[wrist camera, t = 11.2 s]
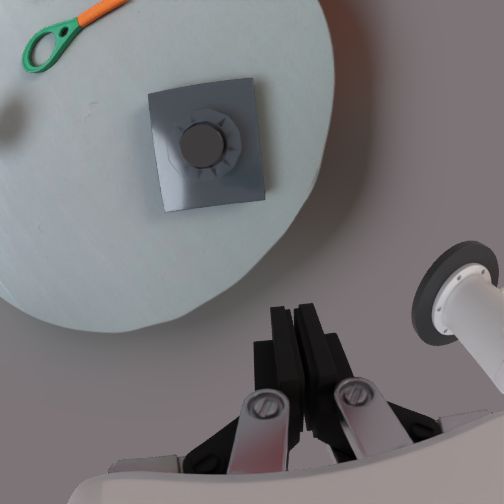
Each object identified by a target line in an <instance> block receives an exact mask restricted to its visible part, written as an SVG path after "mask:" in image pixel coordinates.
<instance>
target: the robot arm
mask: <svg viewBox="0 0 504 504" xmlns="http://www.w3.org/2000/svg"><path fill="white" fill-rule="evenodd" d="M270 312H271V325H272V339H273V340H268V341H256V342H254V376H255V391H254V392H252V393H251V394H249V395H248V396H247V397H246V398H245V399H244V401H243V404H242V408H241V412H240V416H239V417H237V418H236V419H235V420H233V421H232V422H231V423H229V424H228V425H227V426H226V427H224V428H223V429H221V430H220V431H219V432H217V433H216V434H215V435H213V436H212V437H211V438H209V439H208V440H206V441H205V442H204V443H202V444H201V445H199V446H198V447H196V448H195V449H194V450H192V451H191V452H190V453H188V454H187V455H186V456H182V457H177V455H169V456H161V457H149V458H137V459H123V460H118V461H117V462H115V463H113V464H112V466H111V467H110V468H109V471H108V474H105V475H100V476H96V477H93V478H90V479H87V480H85V481H84V482H82V483H81V484H80V485H79V486H78V487H77V488H76V489H75V491H74V492H73V494H72V495H71V497H70V499H69V501H68V503H67V504H504V411H501V412H497V413H494V414H493V413H492V412H491V411H488V410H477V411H472V412H467V413H462V414H456V415H450V416H443V417H439V419H438V420H434V419H432V418H430V417H428V416H425V415H422V414H419V413H417V412H414V411H411V410H408V409H406V408H403V407H401V406H398V405H396V404H393V403H390V402H388V401H386V400H385V399H384V397H383V395H382V394H381V392H380V391H379V390H378V388H377V387H376V385H375V384H374V383H373V382H371V381H370V380H368V379H365V378H362V377H354V376H353V373H352V371H351V368H350V365H349V363H348V360H347V358H346V355H345V353H344V350H343V348H342V345H341V343H340V340H339V338H338V336H337V334H336V333H329V334H324V332H323V330H322V327H321V324H320V321H319V318H318V316H317V313H316V310H315V307H314V305H313V303H309V304H300V305H299V308H297V309H294V325H293V321H292V316H291V312H290V309H287V310H285V308H284V306H280V307H271V308H270ZM432 322H433V325H434V326H435V328H436V329H437V330H438V331H439V332H440V333H441V334H443V335H453V334H454V335H455V336H456V337H457V338H458V339H459V341H460V342H461V343H462V344H463V345H464V346H465V348H466V349H467V350H468V351H469V352H470V354H471V355H472V356H473V357H474V358H475V360H476V361H477V362H478V363H479V365H480V366H481V367H482V368H483V370H484V371H485V372H486V373H487V375H488V376H489V377H490V379H491V380H492V381H493V383H494V384H495V385H496V387H497V388H498V389H499V390H500V391H501V393H502V394H504V287H502V288H499V289H498V288H496V287H495V286H494V285H493V284H491V276H490V274H489V271H488V270H487V269H486V268H485V267H484V266H483V265H481V264H479V263H468V264H466V265H463V266H462V267H460V268H459V269H457V270H456V271H455V272H453V273H452V274H451V275H450V276H449V277H448V279H447V280H446V281H445V282H444V284H443V285H442V287H441V288H440V290H439V292H438V294H437V296H436V298H435V301H434V304H433V308H432ZM304 417H305V423H306V428H307V431H311V430H312V432H313V437H314V438H318V439H319V440H321V441H323V442H324V443H326V448H327V451H328V453H329V456H330V458H331V461H332V463H333V465H328V466H322V467H316V468H309V469H302V470H293V471H289V459H290V450H291V449H292V448H293V447H294V446H295V445H296V444H297V443H298V442H299V440H300V432H303V420H304Z"/></svg>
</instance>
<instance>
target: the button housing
mask: <svg viewBox="0 0 504 504" xmlns="http://www.w3.org/2000/svg"><path fill="white" fill-rule="evenodd" d="M148 101H149V111H150V119H151V128H152V135H153V143H154V150H155V157H156V164H157V170H158V177H159V183H160V189H161V195H162V201H163V206H164V212H172V211H179V210H187V209H194V208H202V207H209V206H217V205H226V204H234V203H243V202H252V201H261V200H265V189H264V179H263V169H262V159H261V149H260V139H259V129H258V120H257V110H256V101H255V92H254V83H253V78H243V79H234V80H225V81H217V82H210V83H203V84H197V85H191V86H185V87H180V88H174V89H169V90H164V91H160V92H155V93H151V94H148ZM196 125H208V126H211V127H214V128H215V129H217V130H218V131H219V132H220V133H221V135H222V137H223V139H224V150H223V153H222V155H221V156H220V158H219V159H218V160H217V161H216V162H215V163H213V164H212V165H210V166H207V167H194V166H192V165H190V164H188V163H187V162H186V161H185V160H184V159H183V157H182V155H181V153H180V140H181V138H182V136H183V134H184V133H185V132H186V131H187V130H188V129H189V128H191V127H193V126H196Z"/></svg>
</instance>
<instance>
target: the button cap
mask: <svg viewBox="0 0 504 504" xmlns="http://www.w3.org/2000/svg"><path fill="white" fill-rule="evenodd" d="M223 150H224V139H223V137H222V135H221V133H220V132H219V131H218V130H217V129H215V128H214V127H211V126H208V125H196V126H193V127H191V128H189V129H188V130H187V131H186V132H185V133H184V134H183V136H182V138H181V140H180V153H181V155H182V157H183V159H184V160H185V161H186V162H187V163H188V164H190V165H192V166H194V167H207V166H210V165H212V164H213V163H215V162H216V161H217V160H218V159H219V158H220V156H221V155H222V153H223Z"/></svg>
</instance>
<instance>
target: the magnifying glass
mask: <svg viewBox="0 0 504 504" xmlns="http://www.w3.org/2000/svg"><path fill="white" fill-rule="evenodd" d="M126 2H127V0H103V1H101V2H100V3H98V4H96V5H95V6H93V7H92V8H90V9H88V10H87V11H85V12H84V13H82V14H81V15H79V16H78V17H76V18H73V19H71V20H68V21H64V22H61V23H57V24H54V25H51V26H48V27H45V28H43V29H41V30H40V31H38V32H37V33H36V34H35V35H34V36H33V37H32V38H31V39H30V41H29V42H28V44H27V45H26V47H25V49H24V52H23V55H22V66H23V68H24V69H25V70H26V71H27V72H30V73H40V72H43V71H45V70H47V69H48V68H50V67H51V66H52V65H53V64H54V63H55V62H56V61H57V60H58V58H59V57H60V56H61V54H62V53H63V52H64V50H65V49H66V47H67V46H68V45H69V44H70V42H71V41H72V40H73V38H74V37H75V36H76V35H77V33H78V32H79V31H80V30H81V29H82V28H83V27H85V26H86V25H88V24H89V23H91V22H93V21H94V20H96V19H97V18H99V17H101V16H102V15H104V14H106V13H108V12H109V11H111V10H113V9H114V8H116V7H118V6H120V5H122V4H124V3H126ZM67 28H69V30H68V33H67V34H66V35H65V36H64V37H62V33H63V31H64V30H65V29H67ZM47 33H53V34H54V35H55V37H56V46H55V49H54V52H53V54H52V55H51V57H50V58H49V59H48V61H47V62H46V63H44V64H43V65H41V66H39V67H35V66H34V65H33V64H32V62H31V53H32V49H33V47H34V45H35V44H36V42H37V41H38V40H39V39H40V38H41V37H42V36H43V35H45V34H47Z"/></svg>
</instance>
